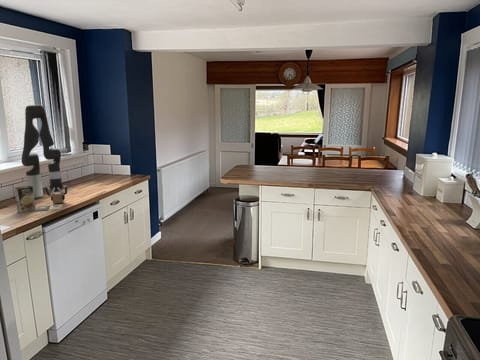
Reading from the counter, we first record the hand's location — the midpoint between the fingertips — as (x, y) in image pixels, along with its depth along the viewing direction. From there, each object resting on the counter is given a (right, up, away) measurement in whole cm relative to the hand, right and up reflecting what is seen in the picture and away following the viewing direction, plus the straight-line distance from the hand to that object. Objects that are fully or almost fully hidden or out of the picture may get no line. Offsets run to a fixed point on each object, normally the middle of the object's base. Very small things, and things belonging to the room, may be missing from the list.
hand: (58, 200), depth 252 cm
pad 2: (+4, -4, -11) cm, 12 cm away
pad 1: (-3, -5, -14) cm, 15 cm away
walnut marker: (0, -1, 0) cm, 1 cm away
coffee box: (-12, -6, -17) cm, 21 cm away
